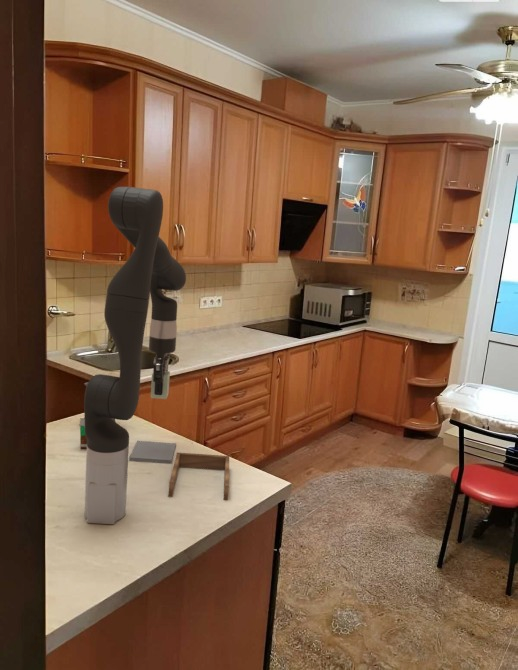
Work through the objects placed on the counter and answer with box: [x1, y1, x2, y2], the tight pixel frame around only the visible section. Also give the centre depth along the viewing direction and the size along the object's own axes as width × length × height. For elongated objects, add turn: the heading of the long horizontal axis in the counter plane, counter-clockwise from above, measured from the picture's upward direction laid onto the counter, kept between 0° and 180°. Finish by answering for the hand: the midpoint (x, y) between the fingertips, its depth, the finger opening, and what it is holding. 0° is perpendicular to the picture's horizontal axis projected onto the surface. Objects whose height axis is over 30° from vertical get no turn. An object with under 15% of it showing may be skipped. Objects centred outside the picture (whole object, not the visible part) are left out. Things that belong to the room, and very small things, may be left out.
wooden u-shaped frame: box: [167, 451, 230, 501], centre depth 139 cm, size 18×15×4 cm
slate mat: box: [128, 440, 177, 464], centre depth 154 cm, size 12×12×1 cm
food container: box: [79, 416, 87, 450], centre depth 156 cm, size 12×6×10 cm, turn 179°
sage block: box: [150, 370, 171, 400], centre depth 149 cm, size 4×4×7 cm
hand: (159, 391), depth 150 cm, fingers closed on sage block, 4 cm apart
